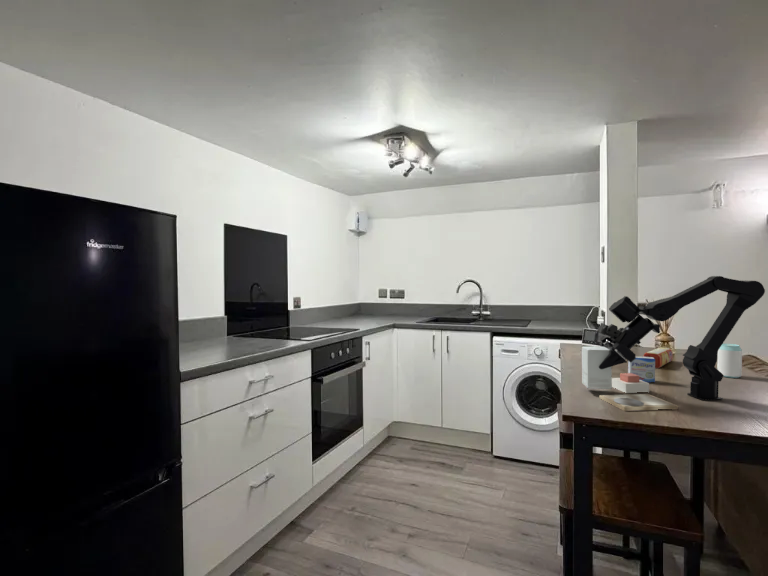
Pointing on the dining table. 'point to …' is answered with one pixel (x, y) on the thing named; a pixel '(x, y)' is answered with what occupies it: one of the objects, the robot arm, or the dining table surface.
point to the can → (730, 360)
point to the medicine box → (643, 368)
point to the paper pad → (637, 402)
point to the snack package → (660, 356)
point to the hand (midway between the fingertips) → (596, 365)
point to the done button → (629, 377)
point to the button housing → (630, 386)
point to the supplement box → (595, 368)
